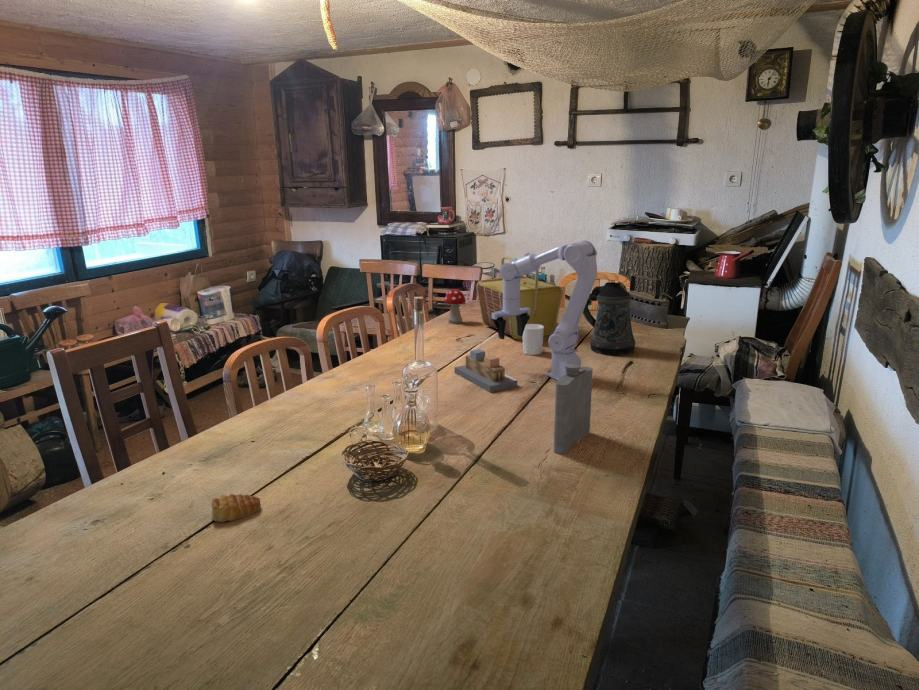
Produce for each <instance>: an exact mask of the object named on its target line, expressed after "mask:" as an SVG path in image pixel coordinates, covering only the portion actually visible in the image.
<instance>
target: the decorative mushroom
mask: <svg viewBox="0 0 919 690" xmlns="http://www.w3.org/2000/svg"><path fill="white" fill-rule="evenodd" d="M443 302H444V303H445V304H448V305H450V308H449V309H450V310H449V315H448V318H447V321H448V323H449V324H453V325H461V324H462V323H463V317H462V315H461V309H460V305H463V304H465V303H466V302H467V301H466V297H465V296H464V294H463V292H462V291H461V290H459V289H456V288H453V289H450V290H448V291H447V292H446V294H445V296H444V299H443Z"/></svg>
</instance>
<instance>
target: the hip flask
mask: <svg viewBox="0 0 919 690" xmlns="http://www.w3.org/2000/svg"><path fill="white" fill-rule="evenodd" d="M565 369H566V374H565V375H564V376H562V377H561V378H560V379H559V380H556V382H555V396H554V398H555V399H554V400H555V401H554V402H555V403H554V427H553V428H554V431H553V436H554V437H553V453H555V454H557V455H565V454H567V453H568V452H569V450H570V448H572V447H573V445H575V444H576V443H578V442H579V441H580V440H582V439H584V438H585V437H587V436H590V429H591V409H592V391H593V390H592V389H593V372H594V371H593V367H590V366H581V367H580V365H578V364H573V363H570V364H566V365H565Z"/></svg>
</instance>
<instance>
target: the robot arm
mask: <svg viewBox="0 0 919 690" xmlns="http://www.w3.org/2000/svg"><path fill="white" fill-rule="evenodd" d="M597 256H598V252H597V250H596V247H595V246H594V244H593V243H592V242H591V241H589V240H582V241H578V242H574V243H569V244H564V245H559V246H557V247H553V248H552V249H550V250H549V249H548V250H547V251H544V252H543V253H541V254H535V253H531V252H526V253H525V254H523V256H522V257H519V258H517V257H515V258H512V259H513V262H510V261H508V262H504V264H503V265H502V266H501V265H500V268H499V276H500V278H501V277H502V278H503V310H501V311H497V312H494V313H492V320H493V322H494V324H495V326H496V328H497V329H496V331H497V333H498V335H497V336H498V338H499V340H505V335H506V333H505V325H506V322H507V321H506V320H504V319H503V318H504V317H510V316H516V320H517V334H518V335H519V336H523V332H524V329H525V326H526V324H527V322H528V320H529V319H530V316H529V315H527V314H530V308H520V281H521V276H526V275H528V274H531V273H532V274H533V273H535V271H537V270H539V271H540V268H541V267H542V265H543V264H546V263H550V262H553V261H556V260H558V259H559V260H560V261H565V262H566V263H567V264H568V265H569V266H570V267H571V268H572V269H573V270H574V271H575V273H576V275H577V278H576V282H575V284H574V287H573V289H572V293H571V295H570V296H569V297H570V298H569V300H568V302H567V305H566V308H565V310H564V313H563V316H562V318H561V321H560V322H559V323H558V324H557V325H556V328H555V330H554V331H553V332H552V333H551V334H550V335H549V338H548V346H549V348H550V349H551V365H550V366H551V368H550V369H551V372H546V373H545V376H547V377H550V378H552V379H554V380H556V381H558V380H559V379H560V378H561V377H562V376H564V375H565V374H566V369H565V365H566V364H570V363H573V364H578V365H580V367H582V360H581V357H580V356H579V354H577V353H576V351H575V345H576V344H578V341H579V331H580V327H579V322H580V321H581V318H582V315H583V310H584V308H585V305H586V303H587V300H588V298H589V295H590V293H592V290H593V289H594V286H595V282H596V280H597V278H598V266H597Z"/></svg>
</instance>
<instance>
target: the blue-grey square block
mask: <svg viewBox="0 0 919 690" xmlns="http://www.w3.org/2000/svg"><path fill="white" fill-rule="evenodd" d="M469 352H470V354H469V356H470V358H472V359H474V360H476V361H477V360H482V359H484V357H486V351H484V350H483V349H480V348H477V349H472V350H470V351H469Z"/></svg>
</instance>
